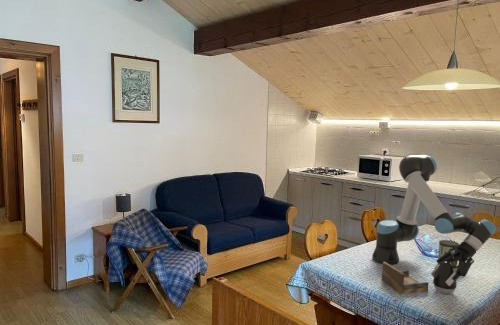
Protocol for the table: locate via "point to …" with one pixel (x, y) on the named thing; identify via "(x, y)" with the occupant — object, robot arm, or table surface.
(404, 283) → the stand
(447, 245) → the coffee can
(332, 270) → the table surface
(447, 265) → the pump dispenser
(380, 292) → the table surface
